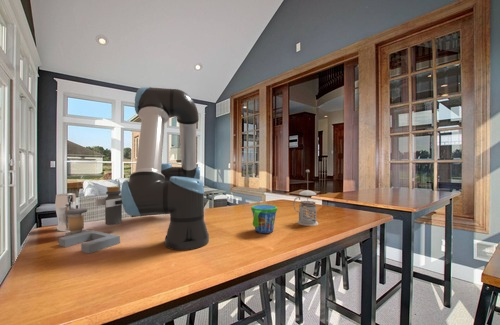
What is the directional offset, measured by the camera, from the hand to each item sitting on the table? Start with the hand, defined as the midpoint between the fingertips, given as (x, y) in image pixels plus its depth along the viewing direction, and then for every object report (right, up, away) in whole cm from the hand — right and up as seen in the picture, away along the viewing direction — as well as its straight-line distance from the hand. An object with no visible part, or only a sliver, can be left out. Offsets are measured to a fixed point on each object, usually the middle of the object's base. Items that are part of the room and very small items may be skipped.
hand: (101, 203), depth 92 cm
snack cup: (+64, -13, +5) cm, 66 cm away
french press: (+85, -13, +17) cm, 87 cm away
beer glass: (-20, -13, +8) cm, 25 cm away
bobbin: (-10, -13, 0) cm, 16 cm away
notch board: (+2, -13, -10) cm, 16 cm away
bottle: (+2, -9, +5) cm, 11 cm away
